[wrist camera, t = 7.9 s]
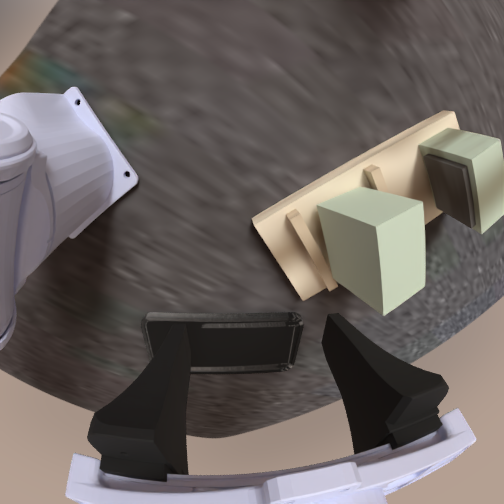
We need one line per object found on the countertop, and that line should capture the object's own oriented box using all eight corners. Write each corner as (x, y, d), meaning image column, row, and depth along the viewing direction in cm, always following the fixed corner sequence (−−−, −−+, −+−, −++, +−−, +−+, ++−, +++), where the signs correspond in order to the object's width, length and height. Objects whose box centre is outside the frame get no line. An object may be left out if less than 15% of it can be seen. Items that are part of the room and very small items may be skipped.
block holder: (251, 218, 21) (267, 268, 14) (443, 110, 18) (505, 120, 11) (298, 291, 24) (324, 352, 18) (462, 185, 21) (516, 211, 15)
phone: (292, 370, 28) (152, 372, 26) (290, 363, 29) (154, 364, 27) (305, 315, 25) (138, 316, 23) (302, 308, 26) (141, 308, 24)
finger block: (332, 278, 21) (383, 316, 15) (316, 204, 18) (375, 226, 13) (376, 253, 22) (430, 282, 16) (366, 184, 19) (428, 198, 14)
